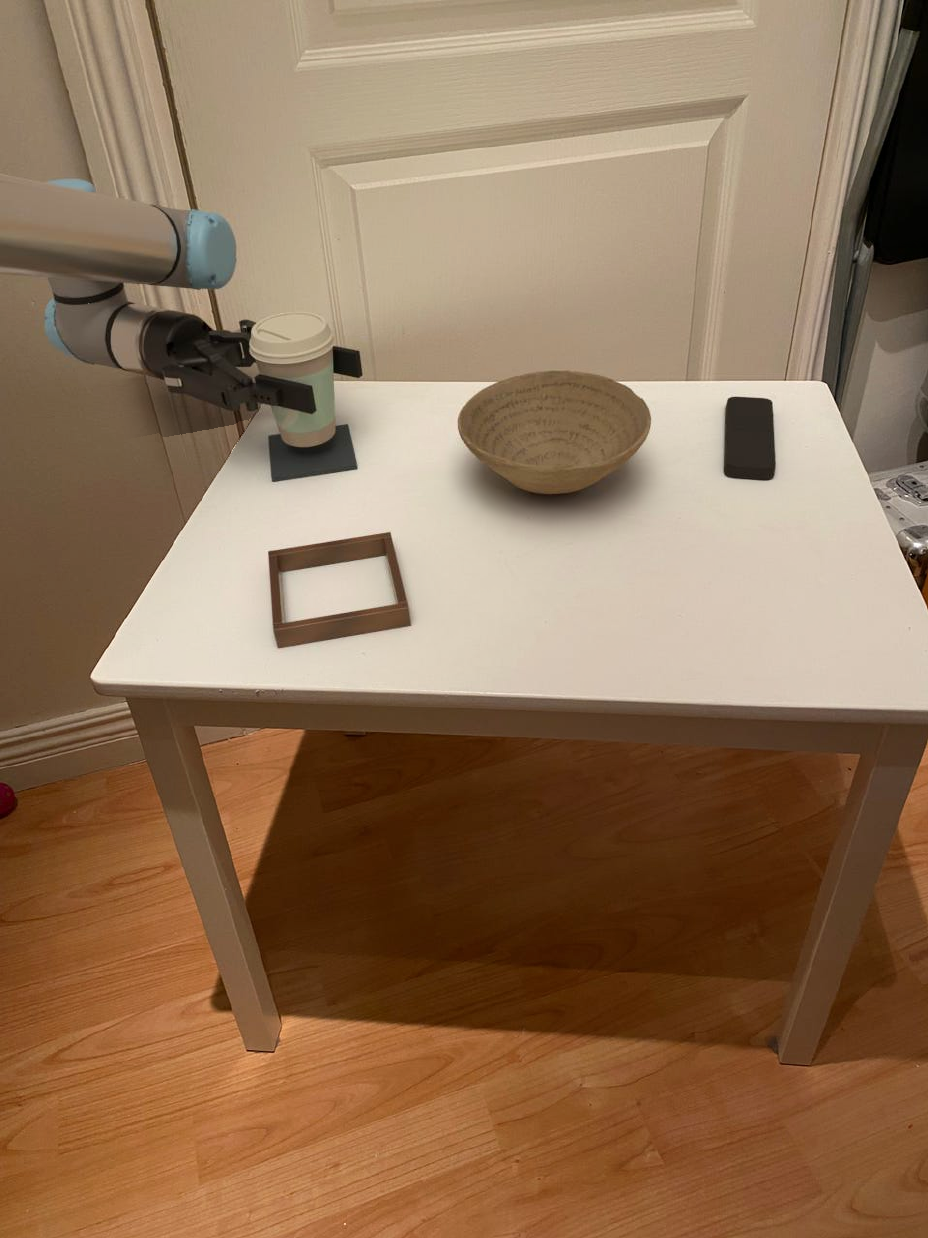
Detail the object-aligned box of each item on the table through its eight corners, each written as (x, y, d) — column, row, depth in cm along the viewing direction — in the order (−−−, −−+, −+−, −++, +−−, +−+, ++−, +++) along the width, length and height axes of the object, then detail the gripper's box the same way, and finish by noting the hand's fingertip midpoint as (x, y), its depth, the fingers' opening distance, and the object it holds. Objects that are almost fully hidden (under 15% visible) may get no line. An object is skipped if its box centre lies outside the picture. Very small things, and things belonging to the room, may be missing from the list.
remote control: (773, 485, 93) (771, 407, 104) (776, 470, 92) (773, 393, 103) (722, 481, 94) (725, 405, 105) (725, 466, 93) (727, 390, 104)
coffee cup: (263, 422, 103) (240, 316, 95) (340, 408, 104) (323, 303, 96) (274, 461, 96) (251, 351, 88) (355, 445, 98) (339, 335, 90)
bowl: (455, 536, 89) (449, 463, 84) (466, 438, 103) (462, 370, 97) (652, 535, 87) (659, 461, 82) (637, 435, 101) (642, 366, 96)
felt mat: (272, 481, 98) (271, 476, 98) (268, 439, 105) (267, 435, 104) (357, 469, 99) (356, 464, 99) (348, 428, 106) (348, 423, 105)
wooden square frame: (277, 648, 78) (273, 630, 77) (272, 568, 86) (267, 551, 85) (411, 625, 79) (408, 607, 78) (392, 548, 88) (390, 531, 86)
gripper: (232, 340, 112) (394, 373, 103) (108, 417, 99) (281, 463, 90) (218, 277, 107) (386, 306, 98) (85, 350, 94) (266, 392, 85)
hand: (336, 381), depth 94 cm, fingers closed on coffee cup, 8 cm apart
